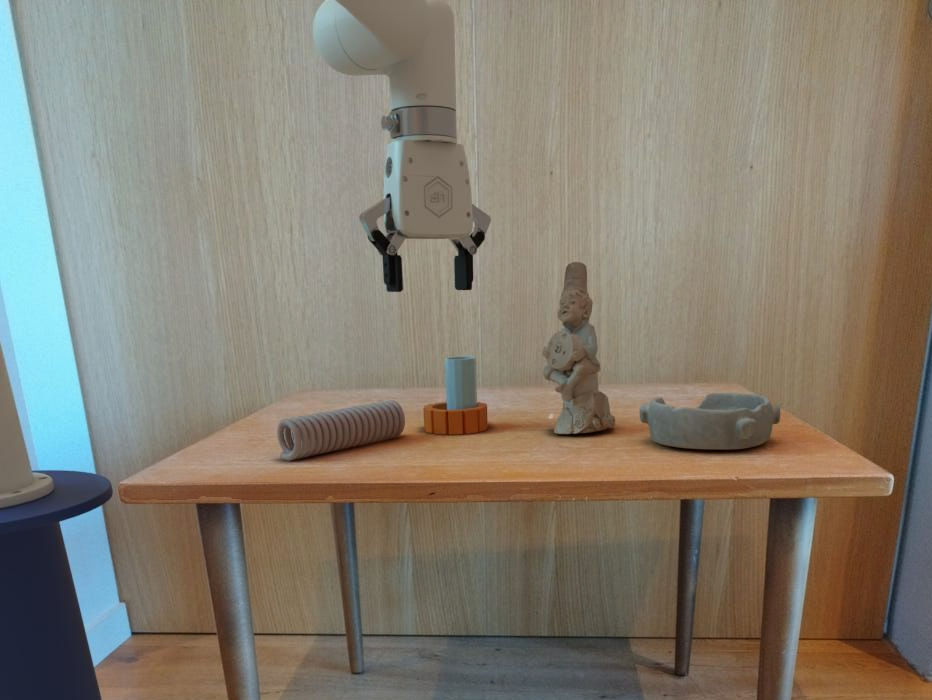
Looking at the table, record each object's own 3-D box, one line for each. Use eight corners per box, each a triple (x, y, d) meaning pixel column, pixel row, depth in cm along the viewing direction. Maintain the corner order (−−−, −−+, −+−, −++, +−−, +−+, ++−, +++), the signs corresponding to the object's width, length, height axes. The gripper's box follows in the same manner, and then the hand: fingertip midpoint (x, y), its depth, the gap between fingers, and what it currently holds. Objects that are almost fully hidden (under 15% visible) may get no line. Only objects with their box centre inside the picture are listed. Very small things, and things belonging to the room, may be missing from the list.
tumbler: (457, 432, 111) (454, 360, 107) (442, 427, 114) (439, 358, 111) (483, 428, 113) (481, 357, 109) (467, 424, 116) (465, 355, 112)
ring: (444, 437, 108) (442, 413, 107) (413, 428, 115) (412, 405, 113) (499, 429, 112) (499, 406, 111) (467, 421, 119) (466, 399, 117)
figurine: (572, 423, 115) (575, 261, 107) (626, 428, 110) (633, 259, 101) (533, 433, 109) (532, 263, 100) (587, 440, 104) (591, 261, 95)
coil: (383, 399, 109) (266, 420, 97) (408, 398, 106) (290, 419, 94) (388, 436, 111) (274, 460, 99) (412, 436, 108) (298, 461, 96)
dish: (624, 443, 101) (626, 400, 99) (697, 427, 109) (699, 387, 107) (727, 460, 91) (731, 413, 89) (798, 442, 99) (804, 398, 97)
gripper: (369, 120, 91) (379, 292, 98) (504, 131, 99) (504, 289, 106) (342, 130, 97) (353, 292, 103) (471, 140, 105) (473, 289, 112)
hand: (429, 290), depth 105 cm, fingers open, 9 cm apart
